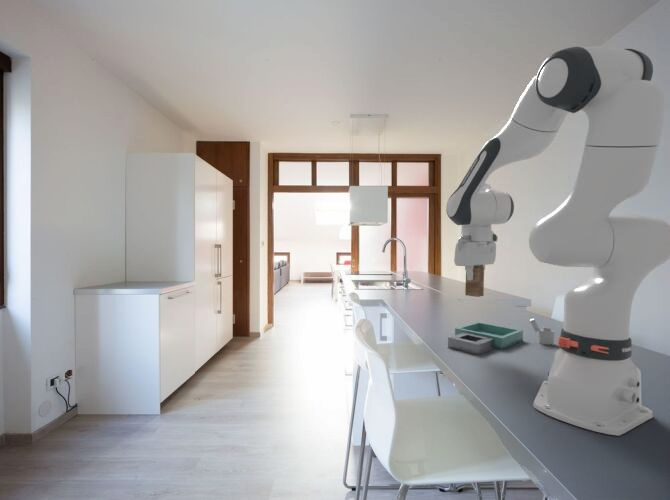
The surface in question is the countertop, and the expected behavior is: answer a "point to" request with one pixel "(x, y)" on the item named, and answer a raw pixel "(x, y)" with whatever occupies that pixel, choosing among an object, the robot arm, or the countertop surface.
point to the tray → (493, 333)
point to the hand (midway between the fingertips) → (474, 279)
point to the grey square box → (471, 343)
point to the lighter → (543, 333)
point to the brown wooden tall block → (475, 283)
